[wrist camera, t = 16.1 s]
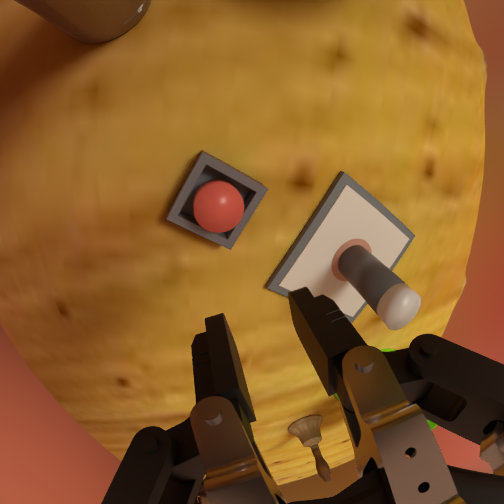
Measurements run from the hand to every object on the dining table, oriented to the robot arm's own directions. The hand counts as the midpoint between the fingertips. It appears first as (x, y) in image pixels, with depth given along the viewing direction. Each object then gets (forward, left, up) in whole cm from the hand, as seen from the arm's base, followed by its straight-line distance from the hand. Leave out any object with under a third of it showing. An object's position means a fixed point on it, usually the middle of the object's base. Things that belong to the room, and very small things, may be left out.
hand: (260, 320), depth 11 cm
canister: (+19, +1, -18) cm, 26 cm away
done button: (0, 0, -17) cm, 17 cm away
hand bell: (+41, -35, -19) cm, 57 cm away
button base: (0, 0, -19) cm, 19 cm away
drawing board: (+19, +1, -19) cm, 27 cm away
